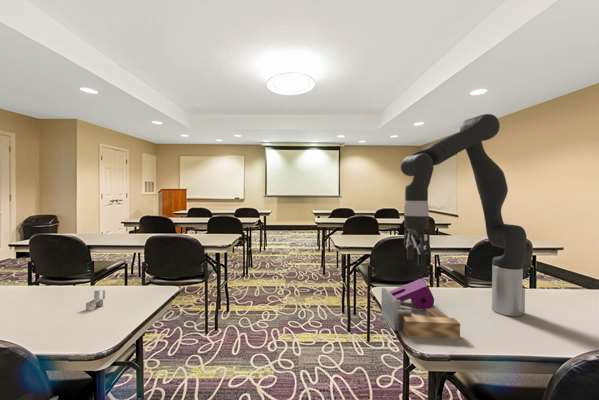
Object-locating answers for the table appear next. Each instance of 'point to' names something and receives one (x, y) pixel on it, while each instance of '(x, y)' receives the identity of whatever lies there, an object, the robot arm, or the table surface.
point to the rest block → (435, 313)
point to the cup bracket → (393, 310)
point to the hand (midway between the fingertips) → (415, 262)
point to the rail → (431, 327)
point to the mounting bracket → (415, 294)
